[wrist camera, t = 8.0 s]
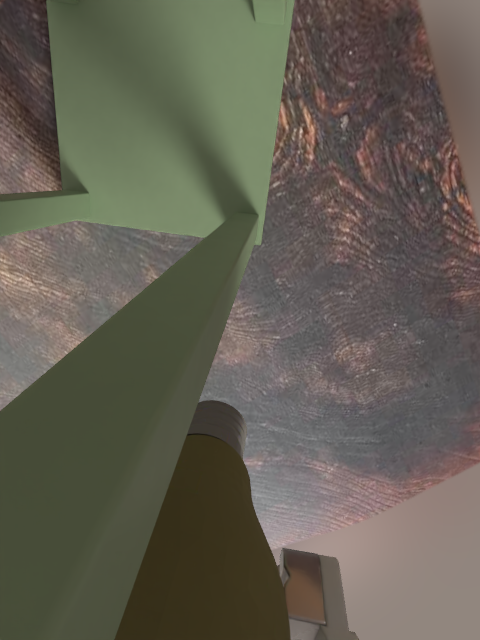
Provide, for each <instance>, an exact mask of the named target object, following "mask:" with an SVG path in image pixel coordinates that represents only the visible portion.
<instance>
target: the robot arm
mask: <svg viewBox="0 0 480 640" xmlns="http://www.w3.org/2000/svg"><path fill="white" fill-rule="evenodd" d="M277 568H278V571H279V574H280V577H281V581H282V584H283V588H284V593H285V599H286V605H287V610H288V616H289V625H290V637H291V640H359V639H358V637H357V636H356V634H355V632H351V631H349V628H348V621H347V614H346V608H345V601H344V594H343V587H342V581H341V574H340V567H339V563H338V560H337V559H336V558H335V557H329V556H323V555H318V554H315V553H309V552H303V551H297V550H291V549H285V548H282V550H281V554H280V565H278V566H277Z"/></svg>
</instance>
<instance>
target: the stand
mask: <svg viewBox="0 0 480 640" xmlns="http://www.w3.org/2000/svg"><path fill="white" fill-rule="evenodd" d="M294 2H295V0H46V5H47V17H48V28H49V40H50V52H51V64H52V75H53V87H54V99H55V111H56V122H57V134H58V146H59V158H60V169H61V181H62V190H59V191H43V192H28V193H13V194H0V237H2V236H6V235H11V234H16V233H20V232H25V231H29V230H34V229H39V228H43V227H48V226H52V225H57V224H62V223H66V222H71V221H75V220H77V221H85V222H92V223H100V224H107V225H114V226H122V227H129V228H137V229H144V230H152V231H159V232H166V233H174V234H181V235H189V236H196V237H203V238H205V239H203V240H202V241H201V242H200V243H199V244H197V245H196V246H195V247H194V248H193V249H192V250H190V251H189V252H188V253H187V254H186V255H184V256H183V257H182V258H181V259H180V260H179V261H177V262H176V263H175V264H174V265H173V266H171V267H170V268H169V269H168V270H167V271H166V272H164V273H163V274H162V275H161V276H160V277H158V278H157V279H156V280H155V281H154V282H152V283H151V284H150V285H149V286H148V287H147V288H145V289H144V290H143V291H142V292H141V293H139V294H138V295H137V296H136V297H135V298H134V299H132V300H131V301H130V302H129V303H128V304H126V305H125V306H124V307H123V308H122V309H120V310H119V311H118V312H117V313H116V314H115V315H113V316H112V317H111V318H110V319H109V320H107V321H106V322H105V323H104V324H103V325H102V326H100V327H99V328H98V329H97V330H96V331H94V332H93V333H92V334H91V335H90V336H89V337H87V338H86V339H85V340H84V341H83V342H81V343H80V344H79V345H78V346H77V347H75V348H74V349H73V350H72V351H71V352H70V353H68V354H67V355H66V356H65V357H64V358H62V359H61V360H60V361H59V362H58V363H57V364H55V365H54V366H53V367H52V368H51V369H49V370H48V371H47V372H46V373H45V374H43V375H42V376H41V377H40V378H39V379H38V380H36V381H35V382H34V383H33V384H32V385H30V386H29V387H28V388H27V389H26V390H25V391H23V392H22V393H21V394H20V395H19V396H17V397H16V398H15V399H14V400H13V401H12V402H10V403H9V404H8V405H7V406H6V407H4V408H3V409H2V410H1V411H0V640H114V639H115V636H116V634H117V631H118V628H119V625H120V622H121V619H122V617H123V614H124V611H125V608H126V605H127V602H128V600H129V597H130V594H131V591H132V588H133V585H134V583H135V580H136V577H137V574H138V571H139V569H140V566H141V563H142V560H143V557H144V554H145V552H146V549H147V546H148V543H149V540H150V537H151V535H152V532H153V529H154V526H155V523H156V520H157V518H158V515H159V512H160V509H161V506H162V504H163V501H164V498H165V495H166V492H167V489H168V487H169V484H170V481H171V478H172V475H173V472H174V470H175V467H176V464H177V461H178V458H179V455H180V453H181V450H182V447H183V444H184V441H185V439H186V436H187V433H188V430H189V427H190V424H191V422H192V419H193V416H194V413H195V410H196V407H197V405H198V402H199V399H200V396H201V393H202V390H203V388H204V385H205V382H206V379H207V376H208V374H209V371H210V368H211V365H212V362H213V359H214V357H215V354H216V351H217V348H218V345H219V342H220V340H221V337H222V334H223V331H224V328H225V326H226V323H227V320H228V317H229V314H230V311H231V309H232V306H233V303H234V300H235V297H236V294H237V292H238V289H239V286H240V283H241V280H242V277H243V275H244V272H245V269H246V266H247V263H248V261H249V258H250V255H251V252H252V249H253V246H254V244H255V245H261V241H262V234H263V227H264V220H265V212H266V205H267V198H268V191H269V183H270V176H271V169H272V162H273V154H274V147H275V140H276V133H277V125H278V118H279V111H280V104H281V96H282V89H283V82H284V75H285V67H286V60H287V53H288V46H289V38H290V31H291V24H292V17H293V9H294Z"/></svg>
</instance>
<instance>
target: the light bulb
mask: <svg viewBox="0 0 480 640" xmlns="http://www.w3.org/2000/svg"><path fill="white" fill-rule="evenodd" d="M246 435H247V426H246V422H245V420H244V418H243V417H242V415H241V414H240V413H239V412H238V411H237V410H236V409H235V408H233V407H232V406H230V405H228V404H226V403H223V402H220V401H214V400H210V401H202V402H199V403H198V405H197V407H196V410H195V413H194V416H193V419H192V422H191V424H190V427H189V430H188V433H187V436H186V439H185V441H184V444H183V447H182V450H181V453H180V455H179V458H178V461H177V464H176V467H175V470H174V472H173V475H172V478H171V481H170V484H169V487H168V489H167V492H166V495H165V498H164V501H163V504H162V506H161V509H160V512H159V515H158V518H157V520H156V523H155V526H154V529H153V532H152V535H151V537H150V540H149V543H148V546H147V549H146V552H145V554H144V557H143V560H142V563H141V566H140V569H139V571H138V574H137V577H136V580H135V583H134V585H133V588H132V591H131V594H130V597H129V600H128V602H127V605H126V608H125V611H124V614H123V617H122V619H121V622H120V625H119V628H118V631H117V634H116V636H115V639H114V640H291V637H290V625H289V616H288V610H287V605H286V599H285V593H284V588H283V584H282V581H281V577H280V574H279V571H278V568H277V565H276V562H275V559H274V556H273V554H272V551H271V549H270V547H269V544H268V542H267V540H266V537H265V535H264V532H263V530H262V528H261V525H260V523H259V521H258V518H257V516H256V513H255V510H254V507H253V502H252V498H251V487H250V478H249V475H248V471H247V468H246V466H245V464H244V462H243V453H244V446H245V440H246Z"/></svg>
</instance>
